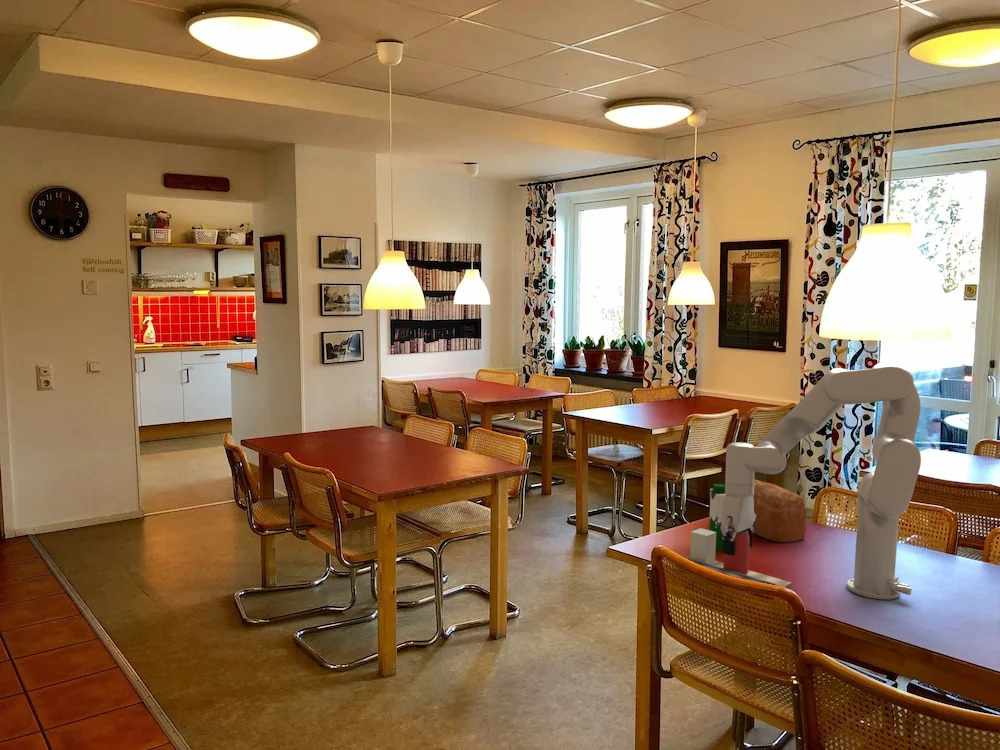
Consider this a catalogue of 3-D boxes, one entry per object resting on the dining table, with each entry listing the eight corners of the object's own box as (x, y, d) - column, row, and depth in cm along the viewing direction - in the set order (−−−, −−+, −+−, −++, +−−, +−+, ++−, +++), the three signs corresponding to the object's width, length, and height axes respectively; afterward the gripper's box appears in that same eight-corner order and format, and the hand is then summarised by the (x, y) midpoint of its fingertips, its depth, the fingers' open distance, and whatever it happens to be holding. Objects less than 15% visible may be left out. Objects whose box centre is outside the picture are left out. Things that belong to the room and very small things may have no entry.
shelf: (791, 586, 202) (792, 575, 202) (774, 596, 195) (774, 584, 195) (698, 559, 222) (698, 549, 222) (679, 567, 215) (679, 556, 215)
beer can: (729, 566, 213) (731, 524, 212) (752, 572, 209) (754, 529, 208) (718, 572, 209) (720, 529, 207) (741, 578, 204) (743, 535, 203)
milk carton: (705, 545, 235) (708, 481, 233) (734, 545, 235) (738, 482, 233) (712, 554, 226) (715, 488, 224) (743, 555, 226) (746, 489, 224)
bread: (775, 544, 237) (778, 495, 235) (721, 521, 261) (723, 476, 259) (809, 540, 242) (812, 491, 240) (753, 517, 266) (755, 473, 265)
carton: (714, 563, 216) (716, 532, 215) (705, 567, 212) (707, 535, 212) (699, 558, 219) (700, 528, 219) (689, 562, 216) (691, 531, 215)
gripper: (742, 481, 215) (740, 540, 217) (710, 491, 203) (709, 554, 205) (767, 485, 210) (765, 546, 211) (736, 496, 198) (734, 561, 199)
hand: (737, 550), depth 208 cm, fingers open, 9 cm apart
